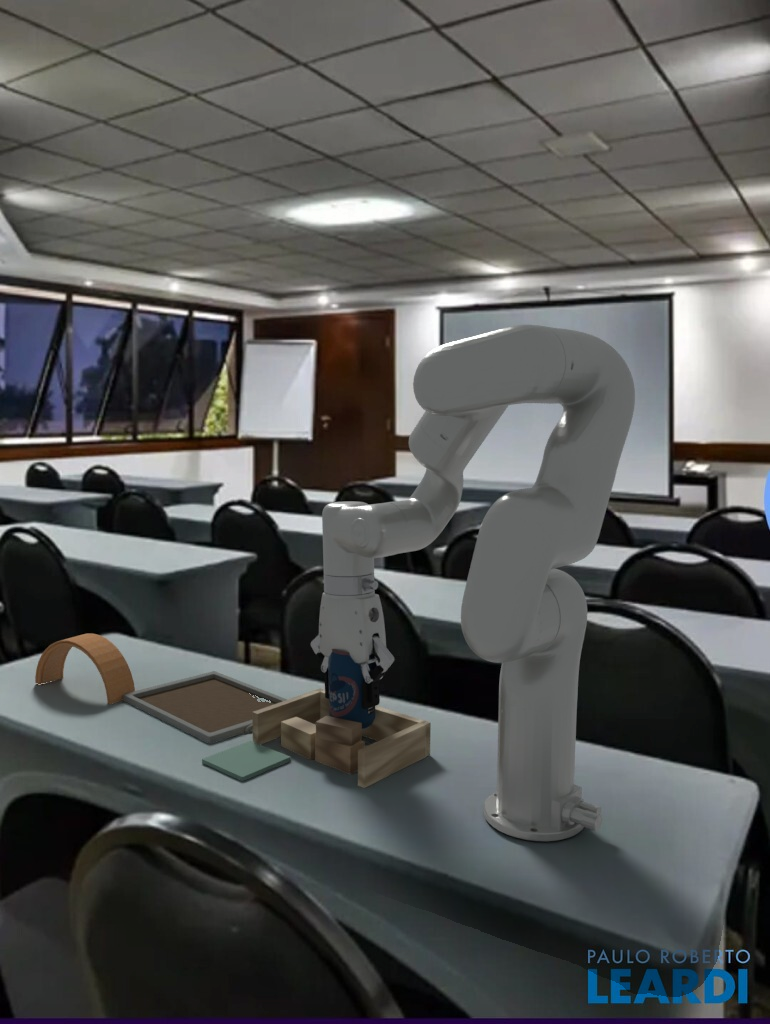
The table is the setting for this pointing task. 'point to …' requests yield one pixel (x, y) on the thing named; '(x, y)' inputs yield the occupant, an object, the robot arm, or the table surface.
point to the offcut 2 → (338, 754)
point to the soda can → (347, 690)
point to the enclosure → (393, 731)
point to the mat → (246, 760)
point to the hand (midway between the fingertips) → (352, 700)
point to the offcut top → (339, 730)
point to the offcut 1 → (299, 736)
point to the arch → (102, 656)
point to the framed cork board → (204, 705)
